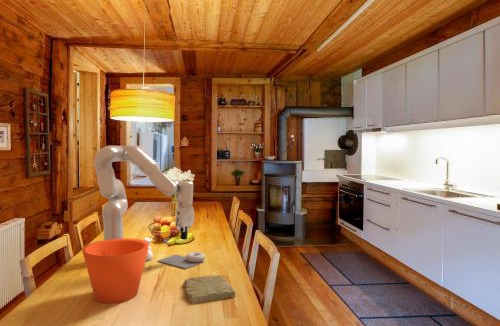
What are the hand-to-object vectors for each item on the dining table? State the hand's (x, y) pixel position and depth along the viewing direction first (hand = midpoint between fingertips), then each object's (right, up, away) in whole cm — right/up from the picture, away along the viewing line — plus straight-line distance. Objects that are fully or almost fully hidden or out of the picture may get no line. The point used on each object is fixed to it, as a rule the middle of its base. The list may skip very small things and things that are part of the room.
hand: (183, 238), depth 186 cm
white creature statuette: (-20, -11, +1) cm, 23 cm away
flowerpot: (-19, -13, -44) cm, 50 cm away
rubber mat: (-1, -12, -2) cm, 12 cm away
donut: (+4, -9, +4) cm, 11 cm away
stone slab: (+17, -14, -39) cm, 44 cm away
